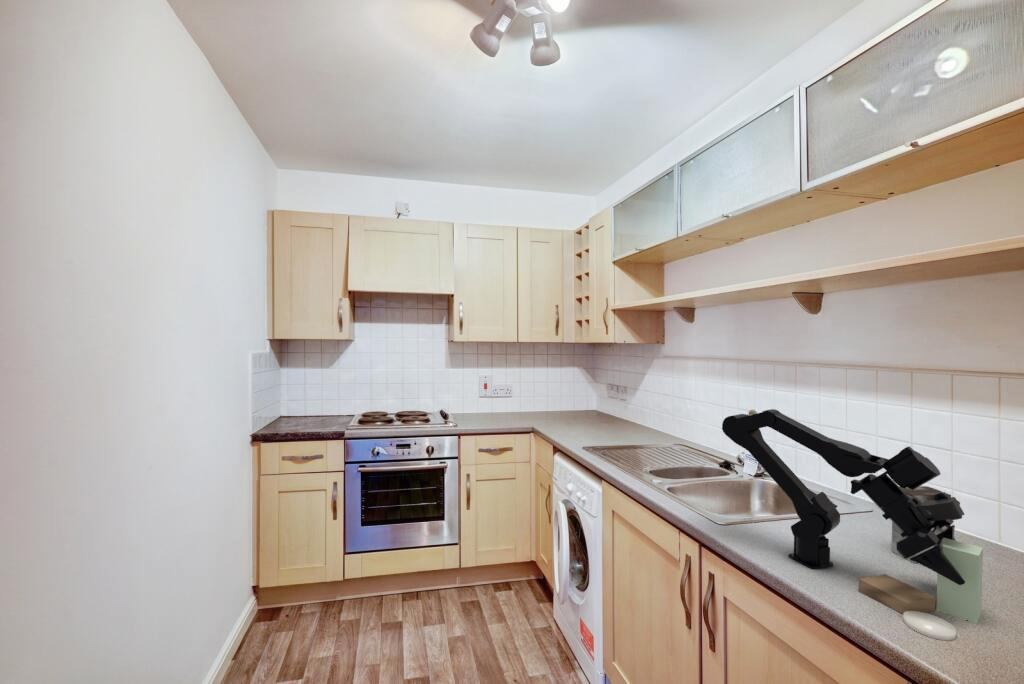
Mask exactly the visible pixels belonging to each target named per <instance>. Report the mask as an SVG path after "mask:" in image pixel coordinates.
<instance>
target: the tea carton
mask: <svg viewBox="0 0 1024 684" xmlns="http://www.w3.org/2000/svg"><path fill="white" fill-rule="evenodd" d="M955 540H956V539H955ZM955 540H951V539H947V538H943V539H942V540H941V541H942V542H943V554H944V555H945V556H946V557H947V559H948V560H949V561H950V562H951V564H952V565H953V566H954V568H955V569H956V570H957V571H958V573H959V574H960V575H961V577H962V578H963V579H964V581H965V584H962V585H958V584H956V583H955V582H953V581H951V580H949V579H947V578H946V577H944V576H942V575H940V574H938V573H936V574H937V575H936V576H937V579H936V580H937V581H936V608H935V611H937V610H938V612H940V611H941V613H943V612H944V613H943V614H946V613H947V614H946V615H949V614H950V615H949V616H952V615H953V616H952V617H955V616H956V617H955V618H957V617H959V618H958V619H960V618H962V619H961V620H963V619H965V620H964V621H966V620H968V621H967V622H969V621H970V622H969V623H972V624H975V625H978V623H979V621H980V618H981V616H982V604H983V601H982V600H983V599H982V598H983V570H984V569H983V566H984V565H983V563H984V562H983V560H984V547H981V546H978V545H974V544H970V543H966V542H961V541H958V540H956V541H955Z"/></svg>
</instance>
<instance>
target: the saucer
mask: <svg viewBox="0 0 1024 684" xmlns="http://www.w3.org/2000/svg"><path fill="white" fill-rule="evenodd" d="M902 616H903V617H902V618H903V619H902V620H903V623H904V624H905V625H906V626H907V627H908V628H909V627H910V629H911V630H913V631H914V630H915V632H916V631H917V632H916V633H918V632H919V633H918V634H920V633H921V635H922V636H925V635H926V637H928V638H932V639H935V640H938V641H939V640H940V641H947V642H949V641H954V640H955V639H957V629H956V628H955V626H954V625H953V624H951V623H950V622H949V621H947V620H945V619H944V618H941V617H939V616H936V615H934V614H931V613H929V612H925V613H924V612H919V611H906V612H904V614H902Z"/></svg>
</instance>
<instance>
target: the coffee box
mask: <svg viewBox="0 0 1024 684" xmlns="http://www.w3.org/2000/svg"><path fill="white" fill-rule="evenodd" d="M898 486H899V485H898ZM899 487H900V486H899ZM900 488H901V489H902V490H903V491H904V492H905V493H906V494H907V495H908V496H909V497H910V498H911V497H914V498H915V497H916V498H917V499H918V500H919V501H920V502H928V501H930V500H932V501H933V500H934V495H935V494H936V493H942V492H943V491H942V490H939V489H937V488H933V487H930V486H925V485H921V486H919V487H918V488H916V489H914V490H912V489H910V488H908V487H906V488H902V487H900ZM945 493H946V494H948V495H949V496H950V497H952V494H949V493H948V492H945ZM950 526H952V524H951V525H949V526H948V525H946V527H947V528H948V527H950ZM901 533H902V531H901V530H900V529H899V528H898V527H897V526H896V525H895V524H894V523H893V522H892V521H891V550H890V551H891V552H892V553H894V554H896V555H898V556H899V557H901V558H903V559H905V558H904V557H903V556H902V555H901V554H900V553H899V552H898V551H897V542H898V541H899V540H900V539H901V538H903V537H902V536H901V535H900V534H901ZM909 558H910V557H909ZM909 558H906V559H905V560H907V561H909V563H912V564H918V563H917V562H915V561H911V560H910V559H909Z"/></svg>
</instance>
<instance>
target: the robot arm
mask: <svg viewBox="0 0 1024 684" xmlns="http://www.w3.org/2000/svg"><path fill="white" fill-rule="evenodd" d="M721 427H722V428H721V429H722V433H723V434H724V435H725V436H726V437H727V438H729V439H730V440H731V441H732V442H734V443H735V444H736V445H738V446H739V447H741V448H743V449H745V450H747V452H748V453H749V454H750V455H751V456H752V457H753V458H754V459H755V460H756V461H757V463H758V464H759V465H760V466H761V467H762V468H763V469H764V471H765V472H766V473H767V474H768V475H769V477H771V478H772V479H773V481H774V482H775V483H776V484H777V486H778V487H779V488H781V490H782V491H783V492H784V494H785V495H786V496H787V497H788V499H790V501H791V502H792V505H793V507H794V510H795V513H796V515H797V516H798V518H799V519H800V520H799V521H796V522H794V524H792V525H791V526H790V530H791V533H792V535H793V552H792V553H788V557H789V558H790V559H792V560H795V561H797V562H798V563H800V564H803V565H804V566H806V567H807V568H810V569H812V570H813V569H820V568H828V567H832V566H834V563H833V562H832V561H831V547H830V546H829V544H830V539H829V538H827V536H826V535H827V534H828V535H829V533H830V532H832V531H833V530H834V529H836V528H837V527H838V526H839V525H840V522H841V514H840V512H839V511H838V509H837V508H838V505H837V504H835V503H833V502H832V501H831V499H829V497H828V496H827V494H826V493H825V492H824V491H821V492H819V493H815V492H814V491H812V490H810V488H808V487H807V486H806V485H805V483H804V482H803V481H802V480H801V479H800V478H799V477H798V476H797V475H796V473H794V471H793V470H792V469H791V468H790V467H789V466H788V465H787V464H786V462H784V461H783V459H782V458H780V456H779V455H778V454H777V453H776V452H775V451H774V450H773V448H771V447H770V445H768V443H767V442H766V441H765V439H764V437H763V434H762V432H761V430H760V429H762V428H766V427H768V428H770V429H772V430H774V431H775V432H778V433H780V434H781V435H783V436H785V437H787V438H789V439H790V440H792V441H794V442H796V443H797V444H800V445H801V446H804V447H805V448H807V449H809V450H811V451H813V452H814V453H816V454H817V455H819V456H820V457H821V458H822V459H823V460H824V461H825V462H826V463H827V464H828V465H830V466H831V467H832V468H833V469H835V470H836V472H839V473H840V474H841V475H843V476H846V477H848V478H856V477H857V478H858V477H860V476H862V475H864V474H868V475H865V476H864V477H862V478H861V479H852V480H850V484H851V485H850V486H851V487H850V494H852V495H855V494H856V493H858V492H860V491H862V492H864V493H865V495H866V496H867V497H868V498H869V499H870V500H871V501H872V502H873V504H875V505H876V506H877V507H878V508H879V509H880V510H881V511H882V513H883V514H882V517H883V518H884V519H885V521H887V520H888V519H889V520H890V521H891V523H892V522H893V523H894V524H895V525H896V526H897V527H898V528H899V529H900V530H901V531H902V533H901V534H900V535H901V536H902V537H903V538H901V539H900V540H899V541H898V542H897V551H898V552H899V553H900V554H901V555H902V556H903V557H904V558H903V557H902V558H903V559H905V560H907V559H906V558H909V557H910V558H909V559H910V560H911V561H915V562H917V563H916V564H919V565H921V566H923V567H925V568H927V569H929V570H931V571H933V572H935V573H936V574H937V573H938V574H940V575H942V576H944V577H946V578H947V579H949V580H951V581H953V582H955V583H956V584H958V585H962V584H965V581H964V579H963V578H962V577H961V575H960V574H959V573H958V571H957V570H956V569H955V568H954V566H953V565H952V564H951V562H950V561H949V560H948V559H947V557H946V556H945V555H944V554H943V542H942V541H941V540H942V539H943V538H947V539H951V540H955V541H957V540H956V538H955V529H956V526H955V524H953V523H954V522H955V521H956V520H961V519H963V516H965V513H964V510H963V509H962V507H961V502H960V501H959V500H958V499H957V498H956V497H955V496H951V497H950V496H949V495H948V494H949V493H947V492H945V491H942V493H936V494H935V495H934V500H933V501H932V500H930V501H928V502H920V501H919V500H918V499H917V498H916V497H915V498H914V497H911V498H910V497H909V496H908V495H907V494H906V493H905V492H904V491H903V490H902V489H901V488H900V487H902V488H906V487H908V488H910V489H912V490H914V489H916V488H918V487H919V486H924V484H926V483H928V482H931V481H932V480H934V479H935V478H937V477H938V476H941V472H940V470H939V468H938V467H937V466H936V465H935V464H934V463H933V462H932V461H931V460H930V459H929V458H928V457H925V455H922V454H921V453H920V452H918V451H916V450H914V449H913V447H912V446H907V447H904V448H903V449H902V450H900V451H899V452H898V453H896V454H895V455H894V456H893V457H891V458H885V457H882V456H877V455H874V454H871V453H870V452H869V451H868V450H867V449H866V448H862V447H860V446H858V445H856V444H855V445H854V444H852V443H849V442H845V441H843V440H838V439H833V438H831V437H828V436H827V435H824V434H822V433H820V432H819V431H816V430H814V429H813V428H811V427H809V426H807V425H805V424H803V423H801V422H799V421H797V420H795V419H793V418H792V417H789V416H788V415H786V414H783V413H782V412H780V411H779V410H777V409H774V408H771V409H766V410H763V411H762V412H757V413H754V414H750V415H748V414H746V413H745V414H744V413H740V414H734V415H730V416H726V417H725V418H724V419H723V420H722V424H721ZM883 469H884V470H885V471H884V472H882V473H881V474H879V475H875V474H876V473H877V472H879V471H882V470H883ZM899 486H900V487H899ZM946 493H947V494H946ZM946 525H948V526H949V525H951V526H950V527H948V528H947V527H946Z"/></svg>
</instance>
